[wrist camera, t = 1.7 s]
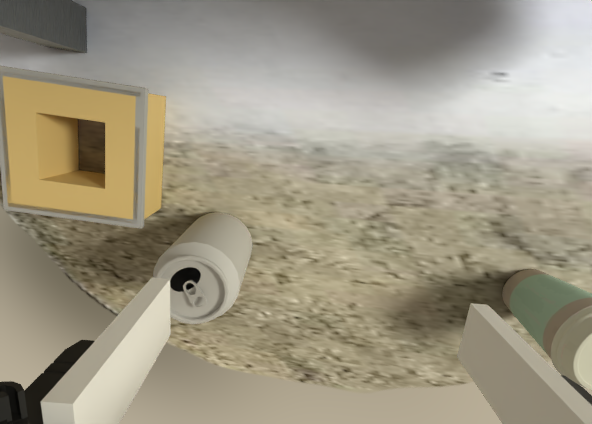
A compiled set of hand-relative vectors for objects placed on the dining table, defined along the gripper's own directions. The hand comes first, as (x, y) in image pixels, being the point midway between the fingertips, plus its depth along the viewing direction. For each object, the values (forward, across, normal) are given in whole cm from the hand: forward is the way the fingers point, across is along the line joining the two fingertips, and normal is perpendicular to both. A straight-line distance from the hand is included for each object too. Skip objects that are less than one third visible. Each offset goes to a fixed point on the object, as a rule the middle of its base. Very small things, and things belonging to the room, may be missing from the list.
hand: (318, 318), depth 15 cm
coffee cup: (+24, +28, -9) cm, 38 cm away
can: (+24, -9, -6) cm, 26 cm away
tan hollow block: (+24, -22, +4) cm, 32 cm away
